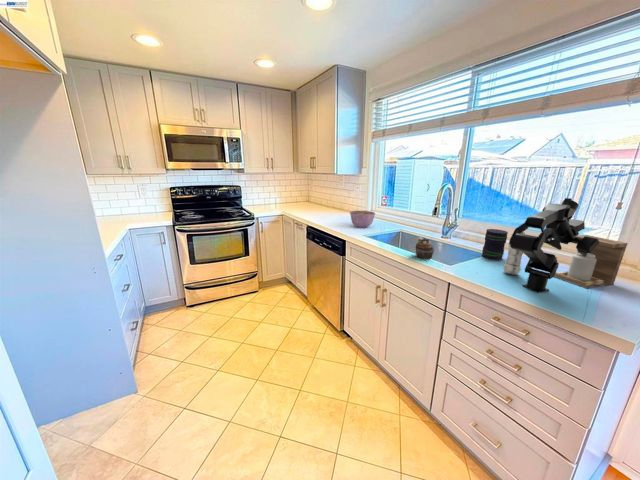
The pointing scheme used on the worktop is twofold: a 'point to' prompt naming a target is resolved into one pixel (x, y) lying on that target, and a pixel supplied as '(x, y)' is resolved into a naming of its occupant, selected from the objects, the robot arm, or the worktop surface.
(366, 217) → the bowl of food
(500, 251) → the storage jar
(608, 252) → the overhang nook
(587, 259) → the can
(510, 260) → the plastic bottle
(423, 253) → the cupcake
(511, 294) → the worktop surface
